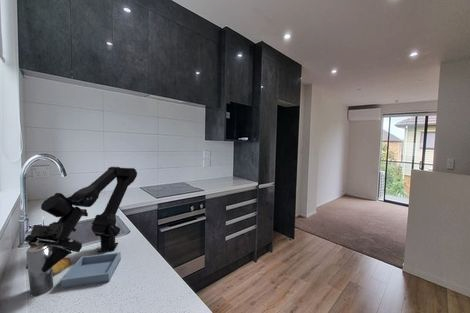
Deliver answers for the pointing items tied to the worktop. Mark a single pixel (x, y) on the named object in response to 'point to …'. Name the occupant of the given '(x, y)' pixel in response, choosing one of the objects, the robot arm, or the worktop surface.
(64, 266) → the pastry
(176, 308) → the worktop surface
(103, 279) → the bin
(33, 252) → the canister
